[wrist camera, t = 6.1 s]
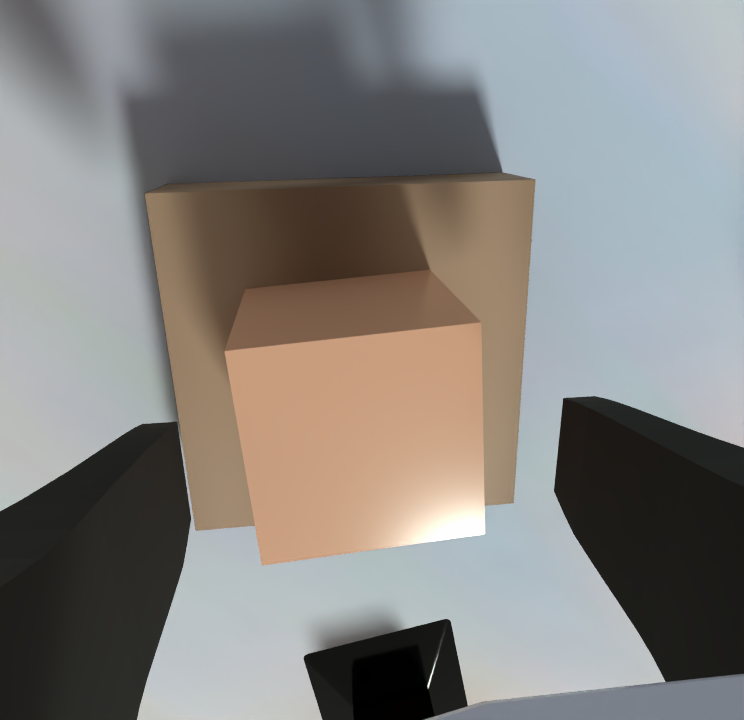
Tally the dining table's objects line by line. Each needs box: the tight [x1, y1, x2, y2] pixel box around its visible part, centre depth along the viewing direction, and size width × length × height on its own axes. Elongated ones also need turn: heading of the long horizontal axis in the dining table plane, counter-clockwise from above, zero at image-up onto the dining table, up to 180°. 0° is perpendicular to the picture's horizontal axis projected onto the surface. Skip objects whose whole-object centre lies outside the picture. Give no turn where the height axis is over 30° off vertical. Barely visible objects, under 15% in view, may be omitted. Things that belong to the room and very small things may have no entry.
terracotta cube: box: [224, 270, 485, 565], centre depth 14 cm, size 4×4×4 cm
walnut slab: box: [145, 173, 535, 531], centre depth 17 cm, size 9×9×3 cm
